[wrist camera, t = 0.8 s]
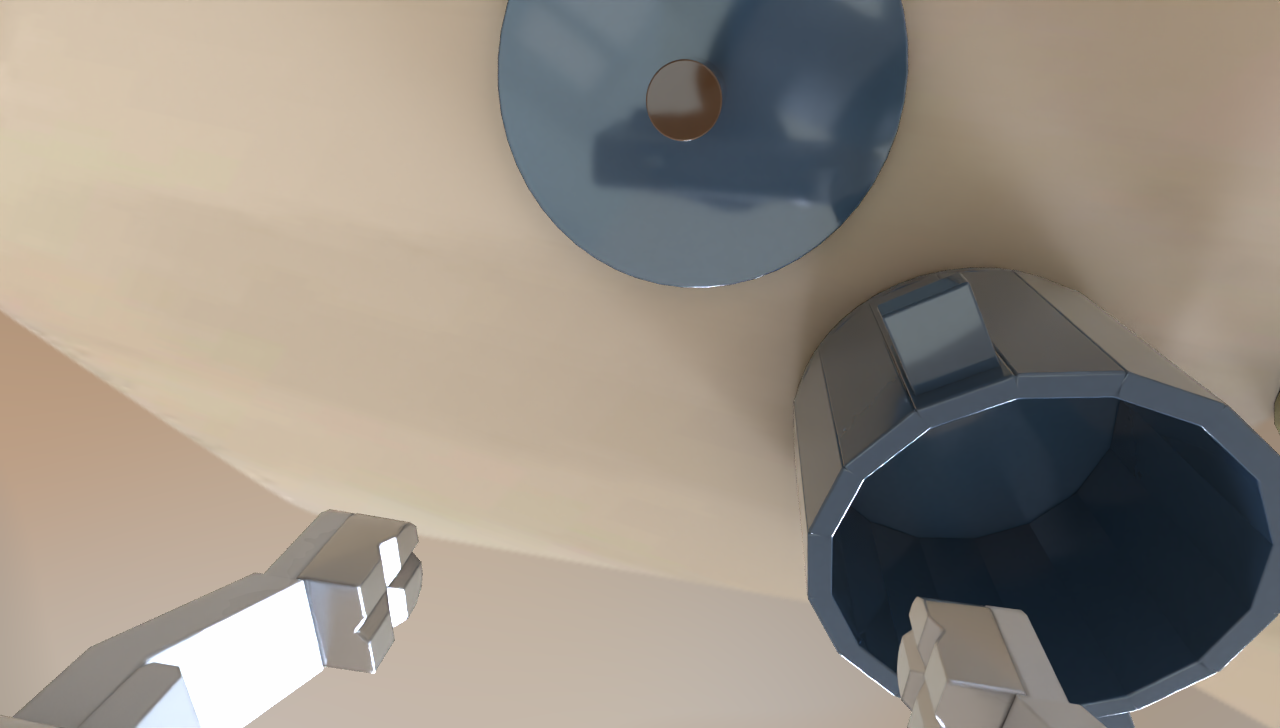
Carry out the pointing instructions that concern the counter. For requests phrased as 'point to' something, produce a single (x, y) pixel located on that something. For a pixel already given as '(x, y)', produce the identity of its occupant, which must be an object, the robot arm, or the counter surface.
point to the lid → (701, 125)
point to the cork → (1277, 413)
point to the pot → (1031, 487)
